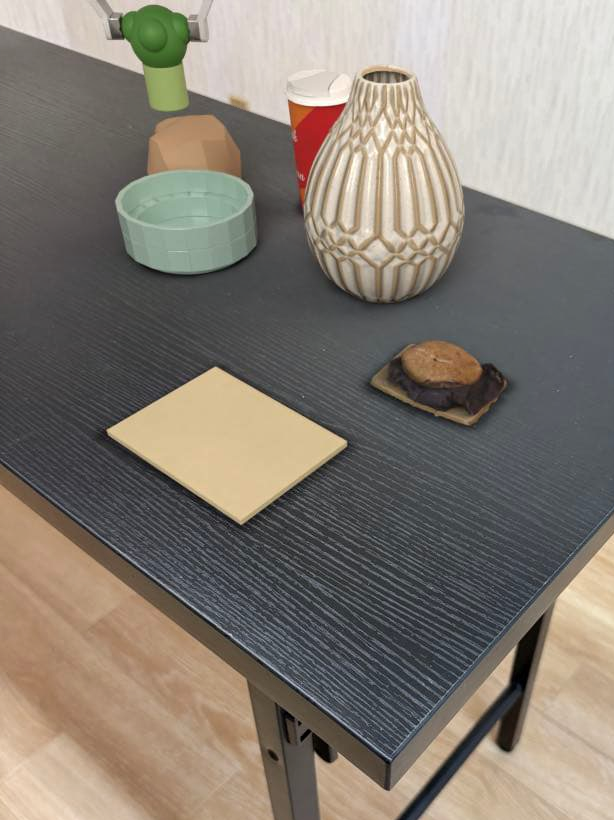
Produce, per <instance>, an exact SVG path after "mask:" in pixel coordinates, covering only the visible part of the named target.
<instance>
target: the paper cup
mask: <svg viewBox="0 0 614 820" xmlns="http://www.w3.org/2000/svg"><path fill="white" fill-rule="evenodd" d="M352 83H353V82H352V80H351V78H350V77H349V76H348V75H347V74H345V73H341V74H340V72H339V71H333V70H328V71H327V69H323V68H321V69H320V68H318V69H317V68H315V69H314V68H313V69H303V70H300V71H297V72H294V73H292V74H290V76H288V78H287V80H286V87H285V89H284V91H283V95H284V97H285V98H286V99H287V105H288V112H289V113H288V114H289V121H290V130H291V136H292V145H293V155H294V162H295V170H296V177H297V178H296V179H297V185H298V186H297V187H298V193H299V199H300V206H301V210H302V211H303V204H304V196H305V190H306V185H307V181H308V177H309V173H310V169H311V166H312V164H313V161H314V158H315V156H316V154H317V152H318V150H319V148H320V146H321V144H322V142H323V141H324V139H325V137H326V135H327V134H328V132H329V130H330V129H331V127H332V126H333V124H334V123H335V121H336V120H337V119H338V117H339V116H340V115H341V113H342V111H343V110H344V108H345V106H346V103H347V100H348V98H349V94H350V91H351V87H352Z"/></svg>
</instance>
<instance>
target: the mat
mask: <svg viewBox="0 0 614 820" xmlns="http://www.w3.org/2000/svg"><path fill="white" fill-rule="evenodd" d="M106 432H107V436H108V437H110V438H111V439H113V440H114V441H116V442H117V443H119V444H120V445H121V446H123V447H125V448H126V449H128V450H129V451H130V452H132V453H134V454H135V455H137V456H138V457H139V458H141V459H143V461H145V462H147V463H148V464H150V465H151V466H153V467H154V468H156V469H157V470H159V471H161V472H162V473H163V474H165V475H166V476H168V477H169V478H171V479H172V480H174V481H175V482H177V484H179V485H181V486H183V487H184V488H186V489H187V490H188V491H190V492H191V493H193V494H194V495H195V496H197V497H199V498H201V499H202V501H203V500H204V501H205V502H206V503H207V504H209V505H211V506H212V507H214V508H215V509H217V510H218V511H220V512H221V513H223V514H224V515H226V516H227V517H228V518H230V519H231V520H233V521H234V522H236V523H237V524H239V525H240V526H242V525H243V524H245V523H247V522H248V521H249V520H250V519H252V518H253V517H254V516H256V515H257V514H259V513H260V512H261V511H263V510H264V509H265V508H267V507H268V506H269V505H271V504H272V503H274V502H275V501H276V500H277V499H279V498H280V497H282V496H283V495H284V494H285V493H286V492H288V491H289V490H290V489H292V488H294V487H295V486H296V485H297V484H299V483H300V482H302V481H303V480H304V479H306V478H307V477H308V476H309V475H311V474H313V473H314V472H315V471H316V470H318V469H319V468H320V467H321V466H323V465H324V464H326V463H327V462H329V461H330V460H331V459H333V458H334V457H335V456H337V455H338V454H339V453H341V452H342V451H343V450H344V449H346V448H347V447H348V441H347V440H346V439H344V438H342V437H340V436H339V435H337V434H335V433H334V432H331V431H330V430H328V429H326V428H324V427H323V426H322V425H319V424H318V423H316V422H315V421H312V420H310V419H309V418H307V417H306V416H303V415H302V414H300V413H299V412H296V411H295V410H293V409H291V408H289V407H287V406H286V405H284V404H282V403H281V402H279V401H278V400H275V399H274V398H272V397H271V396H268V395H267V394H265V393H263V392H261V391H260V390H258V389H256V388H254V387H253V386H252V385H249V384H247V383H246V382H245V381H242V380H240V379H238V378H237V377H235V376H234V375H232V374H230V373H228V372H226V371H225V370H223V369H221V368H220V367H217V366H214V367H212V368H210V369H208V370H207V371H205V372H203V373H202V374H200V375H198V376H196V377H195V378H193V379H191V380H190V381H188V382H186V383H185V384H183V385H181V386H179V387H177V388H176V389H175V390H173V391H171V392H169V393H168V394H166V395H164V396H163V397H161V398H158V399H157V400H155V401H154V402H152V403H151V404H148V405H147V406H145V407H144V408H142V409H140V410H138V411H137V412H134V414H132V415H130V416H128V417H126V418H124V419H123V420H121V421H120V422H118V423H116V424H115V425H113V426H111V427H109V428H107V429H106Z"/></svg>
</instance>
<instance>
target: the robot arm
mask: <svg viewBox="0 0 614 820" xmlns="http://www.w3.org/2000/svg"><path fill="white" fill-rule="evenodd" d="M86 1H87V2H88V3H89V5H90V6H91V8H92V9H93V10H94V12H95V13H96V14H97V16H98V17H99V18H101V21H102V26H103V31H104V35H105V38H106V40H107V41H125V40H126V39H125V37H124V36H123V33H122V31H121V20H122V18H123V16H124V12H119V11H118V12H115V11H114V10H113V8H112V7H111V5H110V4H109V3H108V1H107V0H86ZM213 2H214V0H202V2H201V6H200V9H199V11H198V13H197V14H189V16H188V18H187V19H188V20H187V23H188V29H189V31H190V34H189V37H190V43H208V41H209V39H210V31H209V22H208V16H209V13H210V10H211V8H212V6H213Z"/></svg>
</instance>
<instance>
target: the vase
mask: <svg viewBox="0 0 614 820" xmlns="http://www.w3.org/2000/svg"><path fill="white" fill-rule="evenodd" d="M351 83H352V87H351V91H350V94H349V98H348V100H347V103H346V106H345V108H344V110H343V111H342V113H341V115H340V116H339V117H338V119H337V120H336V121H335V123H334V124H333V126H332V127H331V129H330V130H329V132H328V134H327V135H326V137H325V139H324V141H323V142H322V144H321V146H320V148H319V150H318V152H317V154H316V156H315V158H314V161H313V164H312V166H311V169H310V173H309V177H308V181H307V185H306V190H305V196H304V204H303V210H302V217H303V226H304V230H305V235H306V240H307V243H308V246H309V249H310V251H311V253H312V255H313V257H314V259H315V261H316V263H317V264H318V266H319V268H320V269H321V271H322V272H323V273H324V274H325V276H326V277H327V278H328V279H329V280H330V281H331V282H332V283H333V284H335V286H337V287H338V288H340V289H341V290H342V291H344V292H345V293H348V294H349V295H351V296H353V297H354V298H356V299H359V300H362V301H365V302H370V303H377V304H393V303H394V304H395V303H400V302H404V301H407V300H411V299H412V298H414V297H417V296H418V295H420V294H423V292H425V291H427V290H428V289H430V288H431V287H432V286H433V285H434V284H436V283H437V282H438V281H439V280H440V279H441V278H442V276H444V274H446V271H447V270H448V269H449V267H450V265H451V264H452V262H453V260H454V258H455V256H456V254H457V252H458V249H459V246H460V244H461V240H462V236H463V235H462V234H463V232H464V227H465V226H464V225H465V217H466V216H465V214H466V213H465V212H466V211H465V200H464V199H465V198H464V193H463V187H462V182H461V177H460V173H459V171H458V168H457V164H456V162H455V160H454V156H453V154H452V152H451V150H450V149H449V147H448V144H447V142H446V141H445V138H444V137H443V135H442V133H441V132H440V130H439V129H438V126H437V125H436V124H435V122H434V121H433V120H432V118H431V116H430V115H429V113H428V110H427V109H426V106H425V103H424V100H423V97H422V92H421V89H420V84H419V79H418V77H417V75H416V73H415V72H414V71H413V70H412V69H409V68H407V67H404V66H401V65H395V64H372V65H367V66H364V67H362V68H360V69H359V70H357V71H356V73H355V74H354V76H353V80H352V82H351Z"/></svg>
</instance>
